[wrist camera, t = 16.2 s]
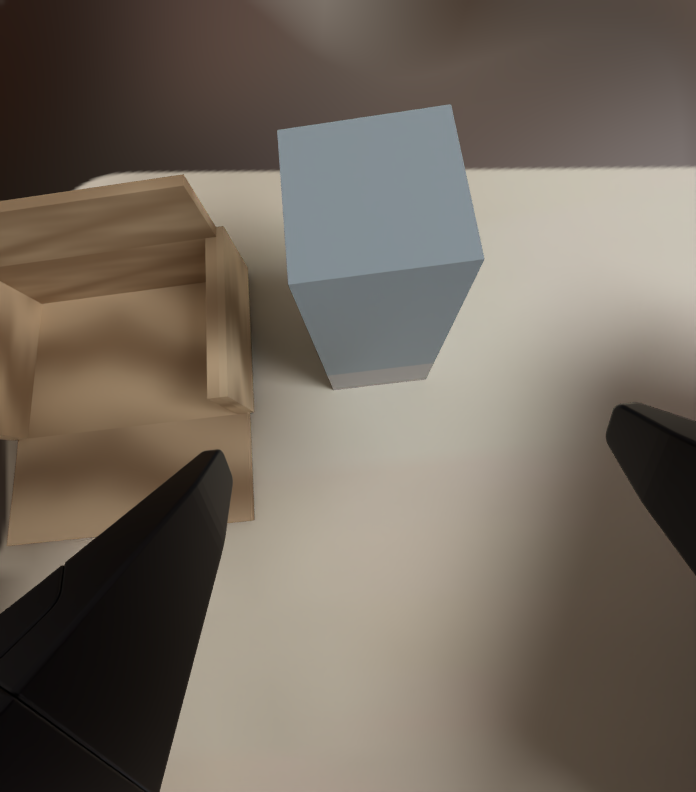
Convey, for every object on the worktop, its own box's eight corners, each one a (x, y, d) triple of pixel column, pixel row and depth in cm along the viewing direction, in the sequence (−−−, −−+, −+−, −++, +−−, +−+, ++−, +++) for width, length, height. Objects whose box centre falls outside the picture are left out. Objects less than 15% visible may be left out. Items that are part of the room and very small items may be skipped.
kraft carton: (261, 518, 21) (193, 539, 13) (8, 545, 21) (-203, 580, 13) (250, 272, 24) (192, 172, 17) (35, 301, 25) (-119, 218, 17)
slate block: (425, 379, 22) (484, 258, 10) (333, 389, 22) (288, 284, 10) (412, 295, 23) (450, 104, 12) (325, 306, 23) (277, 130, 12)
